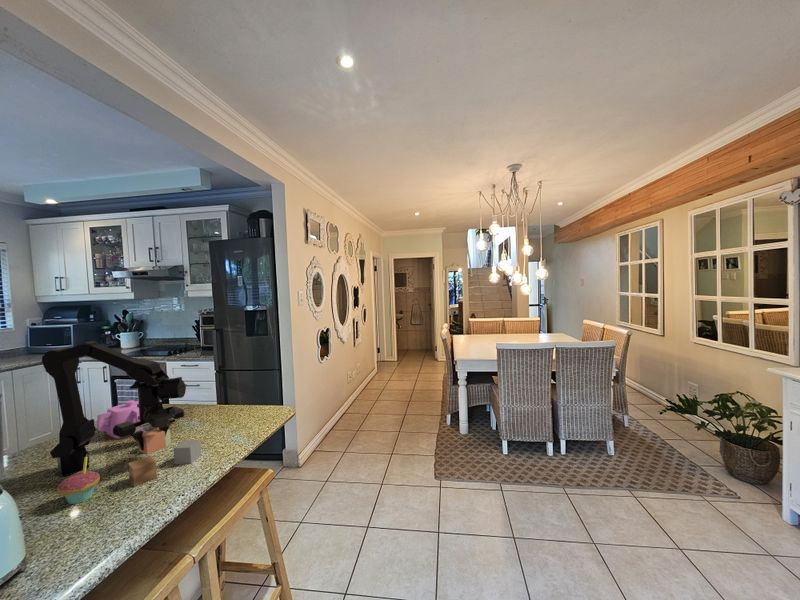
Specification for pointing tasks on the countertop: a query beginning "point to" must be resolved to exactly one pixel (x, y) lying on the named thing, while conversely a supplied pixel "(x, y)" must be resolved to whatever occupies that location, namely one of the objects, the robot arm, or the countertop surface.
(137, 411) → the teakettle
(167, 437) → the sage block
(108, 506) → the countertop surface
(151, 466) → the walnut block
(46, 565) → the countertop surface
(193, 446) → the slate block
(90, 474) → the cupcake
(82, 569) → the countertop surface
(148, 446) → the terracotta block
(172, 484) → the countertop surface
